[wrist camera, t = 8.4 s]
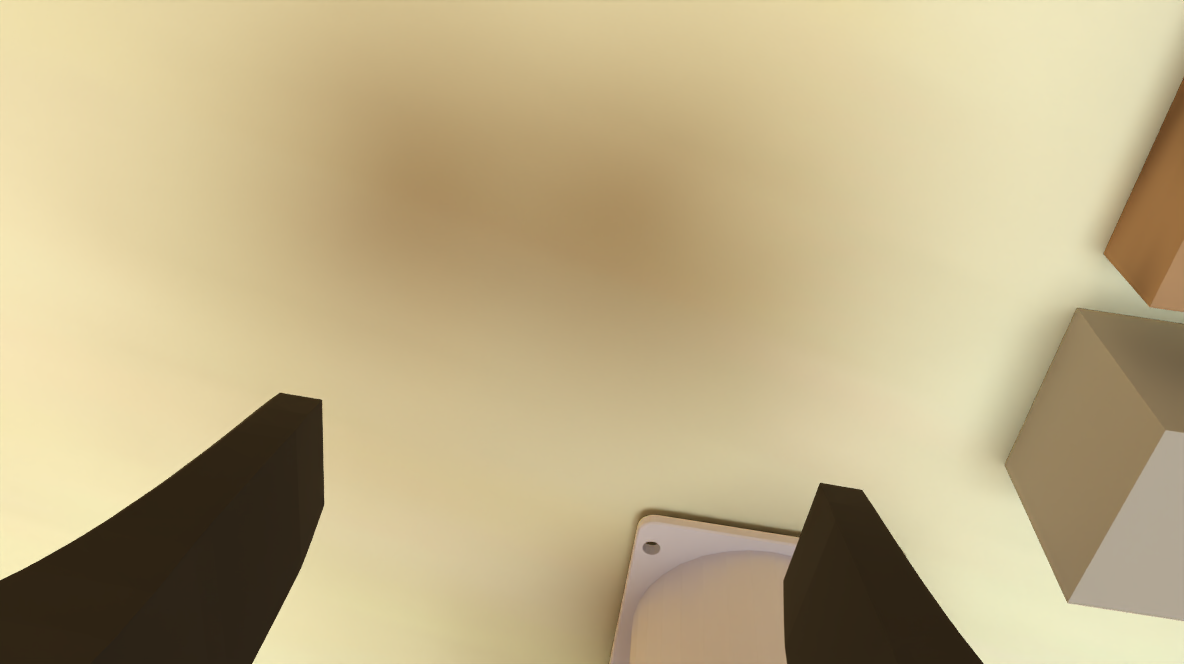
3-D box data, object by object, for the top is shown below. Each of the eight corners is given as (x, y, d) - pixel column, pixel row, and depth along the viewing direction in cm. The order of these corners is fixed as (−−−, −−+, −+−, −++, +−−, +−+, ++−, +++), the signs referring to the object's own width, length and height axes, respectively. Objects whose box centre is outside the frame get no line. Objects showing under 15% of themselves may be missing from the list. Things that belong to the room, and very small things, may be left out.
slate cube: (1185, 490, 25) (1286, 636, 21) (1003, 463, 25) (1067, 603, 21) (1279, 336, 22) (1416, 468, 18) (1076, 306, 23) (1165, 429, 18)
